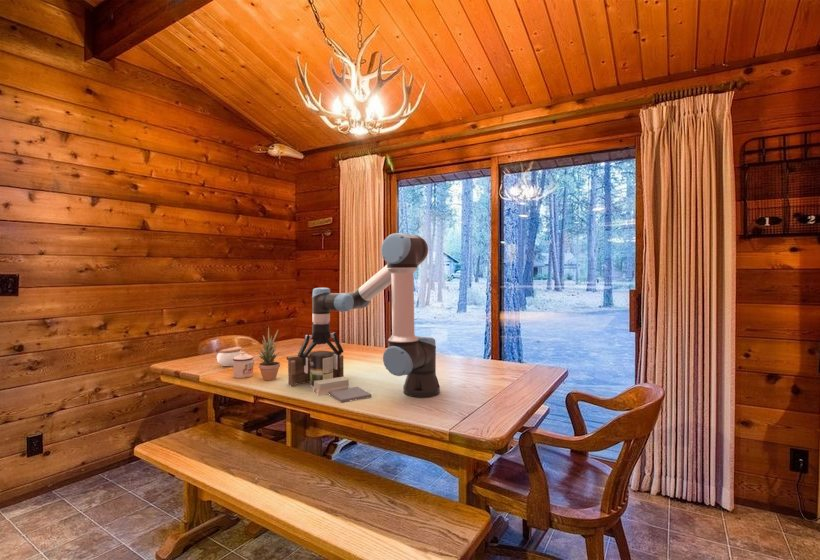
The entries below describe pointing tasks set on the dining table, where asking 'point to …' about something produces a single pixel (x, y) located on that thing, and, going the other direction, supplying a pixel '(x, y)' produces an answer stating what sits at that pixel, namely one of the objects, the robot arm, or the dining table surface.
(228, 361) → the lidded bowl
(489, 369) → the dining table surface
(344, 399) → the slate mat
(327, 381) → the upper offcut
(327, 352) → the coffee can
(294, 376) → the walnut rack
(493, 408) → the dining table surface
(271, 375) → the potted plant
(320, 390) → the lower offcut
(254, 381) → the dining table surface
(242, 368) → the teacup with lid
